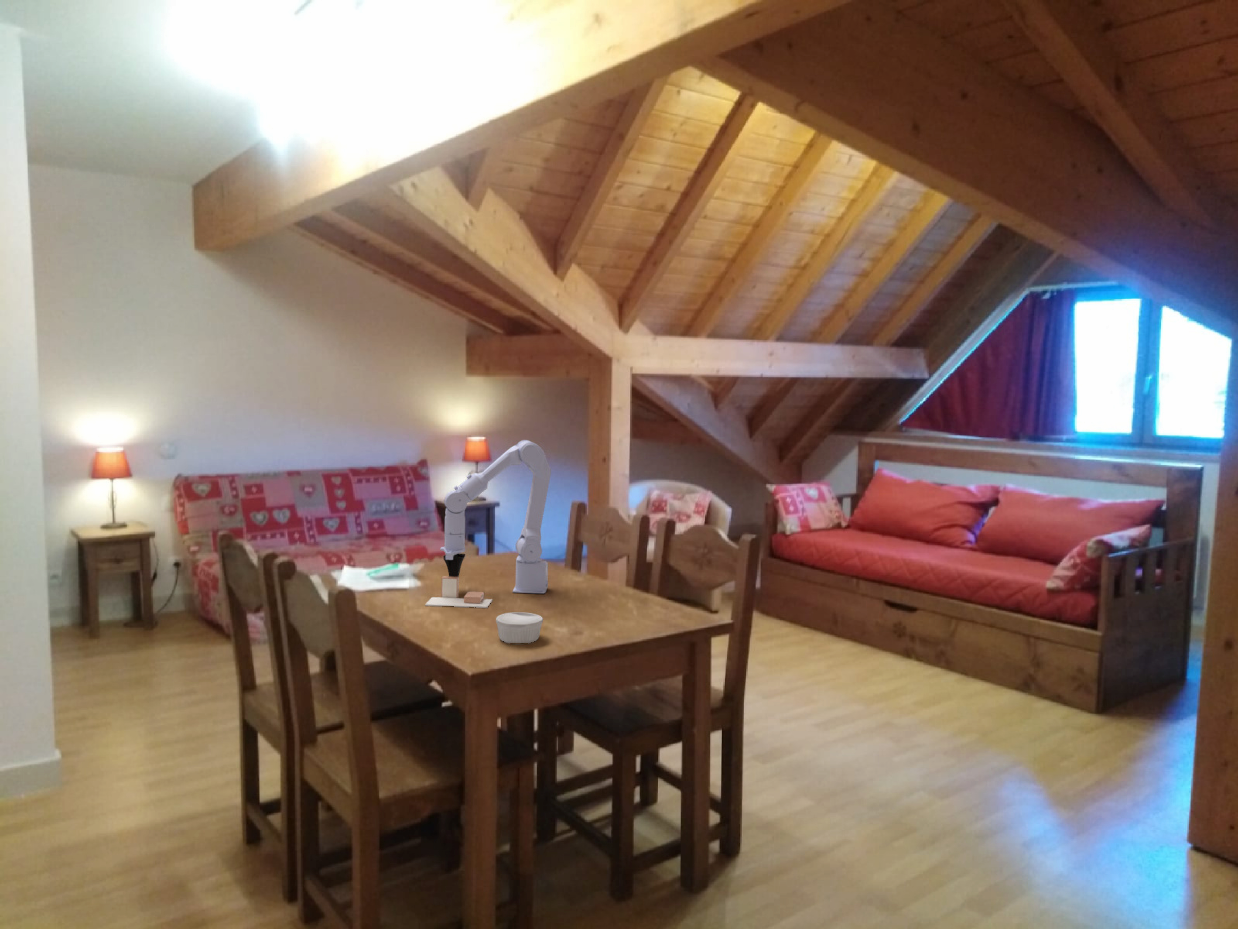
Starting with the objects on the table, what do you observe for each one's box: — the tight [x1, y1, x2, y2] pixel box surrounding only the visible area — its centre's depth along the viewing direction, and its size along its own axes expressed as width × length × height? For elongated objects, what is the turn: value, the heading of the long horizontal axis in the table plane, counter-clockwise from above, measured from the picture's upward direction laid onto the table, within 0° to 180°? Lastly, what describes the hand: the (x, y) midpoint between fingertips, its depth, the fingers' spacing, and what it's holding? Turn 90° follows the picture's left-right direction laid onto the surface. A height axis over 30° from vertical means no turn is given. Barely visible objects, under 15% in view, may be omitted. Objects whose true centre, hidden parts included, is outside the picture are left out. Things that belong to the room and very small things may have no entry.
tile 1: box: [440, 575, 460, 598], centre depth 250 cm, size 4×2×6 cm, turn 89°
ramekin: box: [495, 611, 544, 644], centre depth 214 cm, size 11×11×5 cm
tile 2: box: [463, 591, 485, 603], centre depth 247 cm, size 4×2×6 cm
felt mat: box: [424, 596, 493, 609], centre depth 245 cm, size 17×8×1 cm, turn 89°
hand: (453, 579), depth 256 cm, fingers closed
